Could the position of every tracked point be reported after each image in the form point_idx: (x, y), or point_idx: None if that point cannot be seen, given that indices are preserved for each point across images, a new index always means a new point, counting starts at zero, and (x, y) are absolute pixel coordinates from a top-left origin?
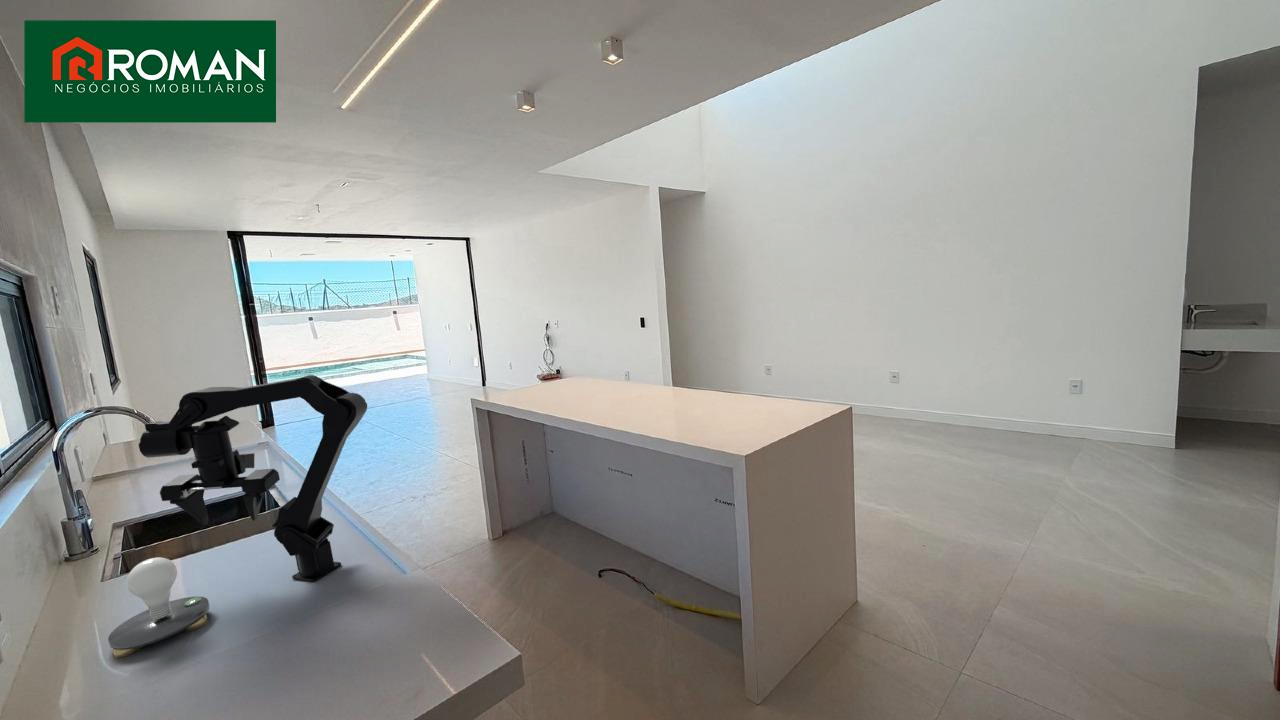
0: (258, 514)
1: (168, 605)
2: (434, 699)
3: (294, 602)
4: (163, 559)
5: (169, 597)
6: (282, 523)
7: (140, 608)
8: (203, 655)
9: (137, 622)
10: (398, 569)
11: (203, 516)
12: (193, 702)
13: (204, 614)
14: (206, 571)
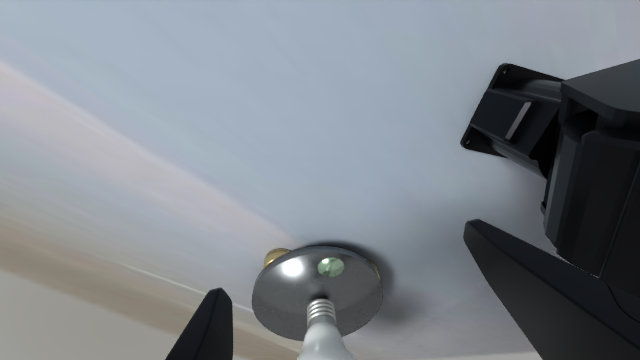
0: (499, 230)
1: (334, 317)
2: None
3: (506, 219)
4: None
5: (336, 327)
6: None
7: (172, 234)
8: (432, 311)
9: (283, 310)
10: None
11: (223, 357)
12: (474, 351)
13: (379, 278)
14: (136, 86)
